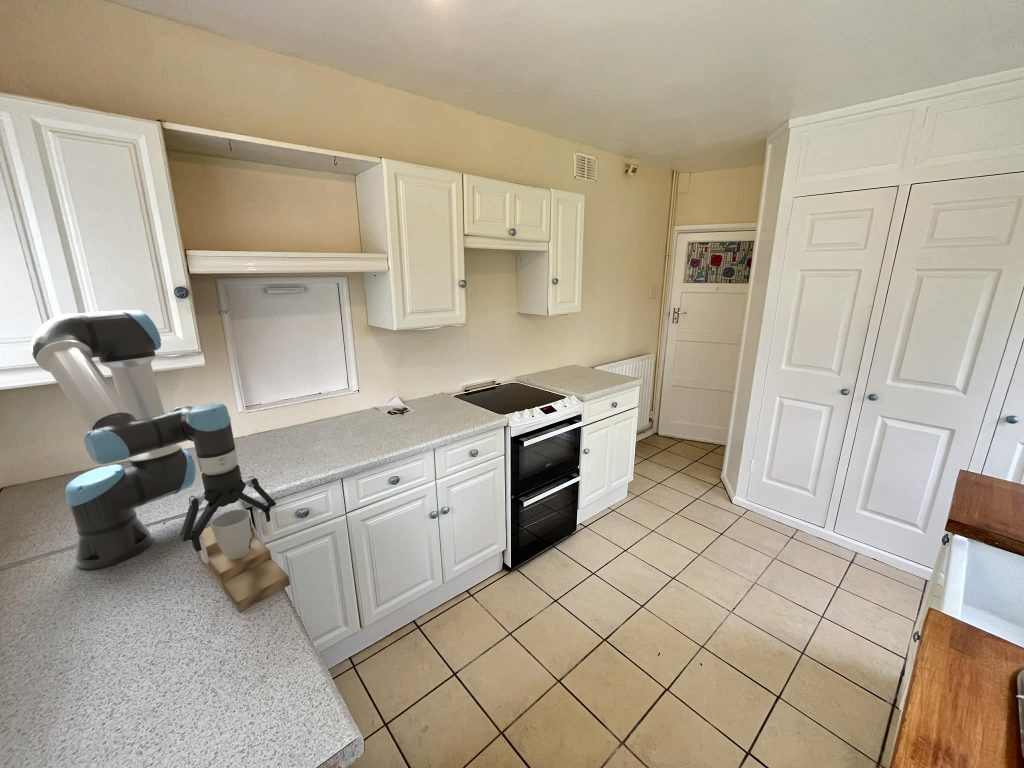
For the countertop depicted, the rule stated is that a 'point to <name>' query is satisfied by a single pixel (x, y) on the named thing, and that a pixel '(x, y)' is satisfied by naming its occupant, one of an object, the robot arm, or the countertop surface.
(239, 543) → the cup
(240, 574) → the riser
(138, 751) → the countertop surface
